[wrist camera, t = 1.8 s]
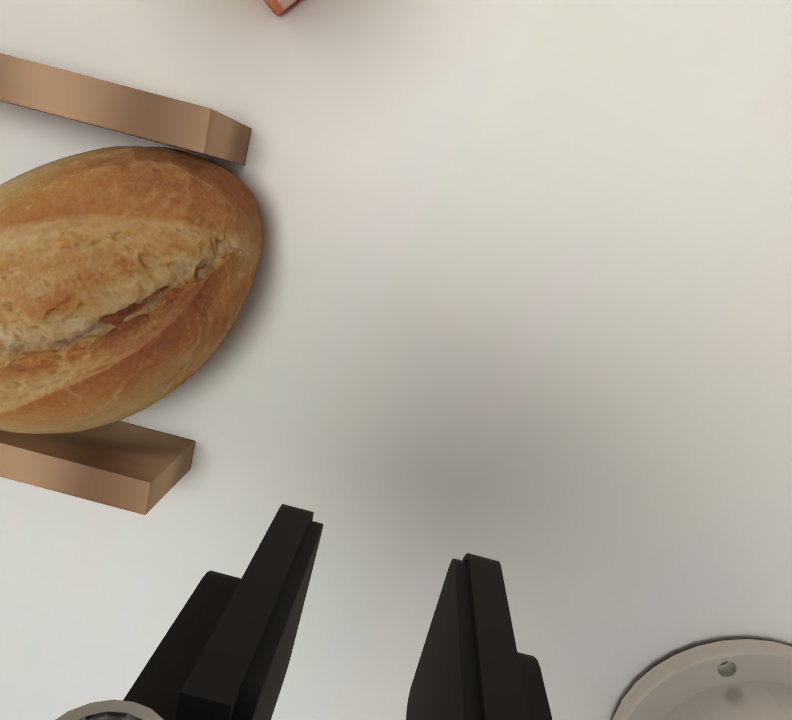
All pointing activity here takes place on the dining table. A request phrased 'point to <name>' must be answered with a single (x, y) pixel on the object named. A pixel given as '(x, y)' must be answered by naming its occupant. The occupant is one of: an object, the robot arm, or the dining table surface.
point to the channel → (116, 442)
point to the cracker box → (279, 5)
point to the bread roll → (116, 282)
